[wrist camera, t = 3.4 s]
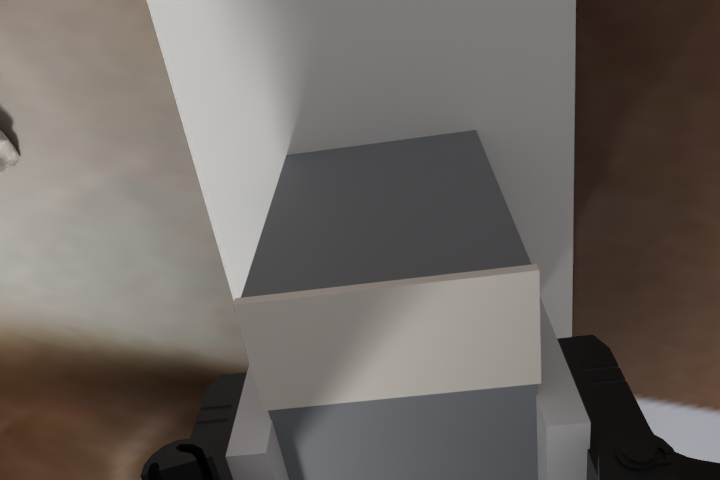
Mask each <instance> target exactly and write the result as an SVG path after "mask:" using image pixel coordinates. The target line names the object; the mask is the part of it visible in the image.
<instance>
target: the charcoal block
mask: <svg viewBox="0 0 720 480" xmlns="http://www.w3.org/2000/svg"><path fill="white" fill-rule="evenodd" d="M233 308H234V311H235V315H236V318H237V322H238V325H239V328H240V332H241V335H242V339H243V342H244V346H245V349H246V352H247V356H248V359H249V363H250V366H251V370H252V373H253V377H254V380H255V383H256V387H257V390H258V394H259V397H260V401H261V404H262V407H263V411H268V412H269V416H270V419H271V421H272V422H273V425H274V429H275V432H276V436H277V439H278V443H279V446H280V450H281V453H282V457H283V460H284V464H285V467H286V471H287V474H288V478H289V480H538V450H537V406H536V395H538V391H537V384H541V336H540V278H539V268H538V266H537V264H531V262H530V259H529V257H528V254H527V252H526V250H525V247H524V245H523V242H522V240H521V238H520V235H519V233H518V230H517V228H516V225H515V223H514V221H513V218H512V216H511V213H510V211H509V209H508V206H507V204H506V201H505V199H504V196H503V194H502V192H501V189H500V187H499V184H498V182H497V180H496V177H495V175H494V172H493V170H492V167H491V165H490V163H489V160H488V158H487V155H486V153H485V151H484V148H483V146H482V143H481V141H480V138H479V136H478V134H477V131H476V130H471V131H464V132H456V133H449V134H441V135H434V136H426V137H419V138H411V139H404V140H396V141H389V142H381V143H374V144H366V145H359V146H351V147H344V148H336V149H329V150H321V151H314V152H306V153H299V154H291V155H286V158H285V161H284V164H283V167H282V170H281V173H280V176H279V180H278V183H277V186H276V189H275V192H274V195H273V198H272V202H271V205H270V208H269V211H268V214H267V217H266V220H265V223H264V227H263V230H262V233H261V236H260V239H259V242H258V245H257V249H256V252H255V255H254V258H253V261H252V264H251V267H250V270H249V274H248V277H247V280H246V283H245V286H244V289H243V292H242V296H241V298H235V300H234V303H233Z"/></svg>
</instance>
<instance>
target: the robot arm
mask: <svg viewBox="0 0 720 480" xmlns="http://www.w3.org/2000/svg"><path fill="white" fill-rule="evenodd" d="M540 336H541V384H537V391H538V395H536V406H537V450H538V480H720V463H715V462H709V461H702V460H697V459H693V458H689V457H686V456H683V455H681V454H679V453H676V452H674V450H673V448H672V447H671V446H670V445H668V444H667V443H666V442H665V441H664V440H663V439H661V438H660V437H657V436H656V435H654V434H653V432H652V431H651V429H650V427H649V425H648V423H647V421H646V419H645V417H644V415H643V413H642V411H641V409H640V407H639V405H638V403H637V401H636V399H635V397H634V395H633V394H632V392H631V390H630V388H629V386H628V384H627V382H625V378H624V376H623V374H622V372H621V370H620V368H618V364H617V362H616V360H615V358H614V356H613V354H612V352H611V350H610V348H609V347H607V346H606V345H605V344H604V343H602V342H601V341H600V340H599V339H597V338H596V337H595V336H594V335H587V336H577V337H567V338H558V339H557V337H556V335H555V332H554V330H553V327H552V325H551V322H550V320H549V318H548V315H547V313H546V310H545V308H544V305H543V303H542V300H541V298H540ZM141 478H142V480H289V478H288V474H287V471H286V467H285V464H284V460H283V457H282V453H281V450H280V446H279V443H278V439H277V436H276V432H275V429H274V425H273V422H272V421H271V419H270V416H269V412H268V411H263V407H262V404H261V401H260V397H259V394H258V390H257V387H256V383H255V380H254V377H253V373H252V370H251V366H250V363H249V367H248V371H247V372H246V373H236V374H227V375H219V376H218V377H217V378H216V380H215V381H214V382H213V383H212V384H211V385H210V387H209V388H208V389H207V390H206V392H205V395H204V398H203V401H202V404H201V407H200V411H199V413H198V416H197V419H196V425H194V428H193V431H192V434H191V437H190V439H184V440H177V441H175V442H172V443H170V444H167V445H165V446H163V447H162V448H160V449H159V450H158V451H156V452H155V453H154V454H152V456H151V457H150V458H149V459H148V461H147V462H146V463H145V464H144V467H143V470H142V473H141Z"/></svg>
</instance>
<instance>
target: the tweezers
mask: <svg viewBox="0 0 720 480" xmlns="http://www.w3.org/2000/svg"><path fill="white" fill-rule="evenodd" d="M19 157H20V155H19V154H18V152H17V150H16V149H15V147H14V145H13V144H12V143H11V142H10V140H9V139H8V138H7V137H6V136H5V134H4V133H3V132H2V131H1V130H0V174H1V173H3V172H4V171H5V170H6V169H12V168H13V167H14V166H15V165H16V163H17V160H18V159H19Z"/></svg>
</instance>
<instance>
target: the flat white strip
mask: <svg viewBox="0 0 720 480" xmlns="http://www.w3.org/2000/svg"><path fill="white" fill-rule="evenodd" d="M147 3H148V6H149V10H150V13H151V17H152V20H153V23H154V27H155V30H156V34H157V37H158V41H159V44H160V48H161V51H162V55H163V58H164V61H165V65H166V68H167V72H168V75H169V79H170V82H171V86H172V89H173V93H174V96H175V100H176V103H177V106H178V110H179V113H180V117H181V120H182V124H183V127H184V131H185V134H186V138H187V141H188V144H189V148H190V151H191V155H192V158H193V162H194V165H195V169H196V172H197V176H198V179H199V182H200V186H201V189H202V193H203V196H204V200H205V203H206V207H207V210H208V214H209V217H210V220H211V224H212V227H213V231H214V234H215V238H216V241H217V245H218V248H219V252H220V255H221V258H222V262H223V265H224V269H225V272H226V276H227V279H228V283H229V286H230V290H231V293H232V297H233V300H235V298H241V296H242V292H243V289H244V286H245V283H246V280H247V277H248V274H249V270H250V267H251V264H252V261H253V258H254V255H255V252H256V249H257V245H258V242H259V239H260V236H261V233H262V230H263V227H264V223H265V220H266V217H267V214H268V211H269V208H270V205H271V202H272V198H273V195H274V192H275V189H276V186H277V183H278V180H279V176H280V173H281V170H282V167H283V164H284V161H285V158H286V155H291V154H299V153H306V152H314V151H321V150H329V149H336V148H344V147H351V146H359V145H366V144H374V143H381V142H389V141H396V140H404V139H411V138H419V137H426V136H434V135H441V134H449V133H456V132H464V131H471V130H476V131H477V134H478V136H479V138H480V141H481V143H482V146H483V148H484V151H485V153H486V155H487V158H488V160H489V163H490V165H491V167H492V170H493V172H494V175H495V177H496V180H497V182H498V184H499V187H500V189H501V192H502V194H503V196H504V199H505V201H506V204H507V206H508V209H509V211H510V213H511V216H512V218H513V221H514V223H515V225H516V228H517V230H518V233H519V235H520V238H521V240H522V242H523V245H524V247H525V250H526V252H527V254H528V257H529V259H530V262H531V264H537V266H538V268H539V278H540V298H541V300H542V303H543V305H544V308H545V310H546V313H547V315H548V318H549V320H550V322H551V325H552V327H553V330H554V332H555V335H556V337H557V339H558V338H567V337H572V298H573V213H574V128H575V42H576V0H147Z"/></svg>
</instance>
